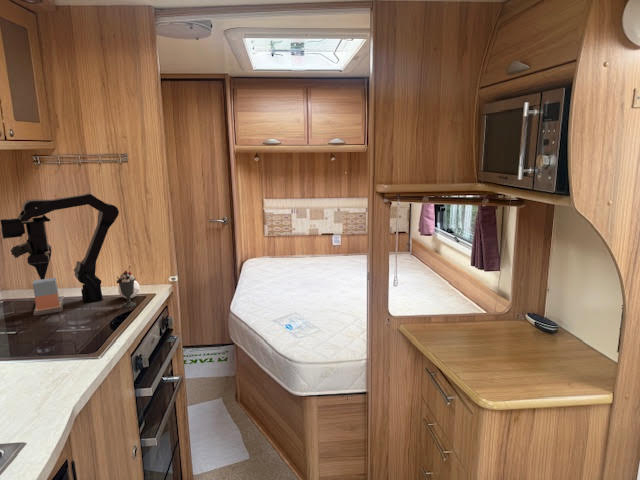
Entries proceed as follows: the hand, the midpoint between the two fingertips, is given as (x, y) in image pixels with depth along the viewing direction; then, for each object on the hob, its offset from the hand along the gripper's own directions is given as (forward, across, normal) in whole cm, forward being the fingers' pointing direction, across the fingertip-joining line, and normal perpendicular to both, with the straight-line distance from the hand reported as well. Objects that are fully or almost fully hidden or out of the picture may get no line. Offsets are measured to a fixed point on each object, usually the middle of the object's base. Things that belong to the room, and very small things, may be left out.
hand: (43, 276), depth 163 cm
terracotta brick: (+12, 0, 0) cm, 12 cm away
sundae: (+13, +11, +27) cm, 32 cm away
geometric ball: (+13, +2, +28) cm, 31 cm away
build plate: (+13, -3, 0) cm, 13 cm away
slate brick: (+7, 0, 0) cm, 7 cm away
